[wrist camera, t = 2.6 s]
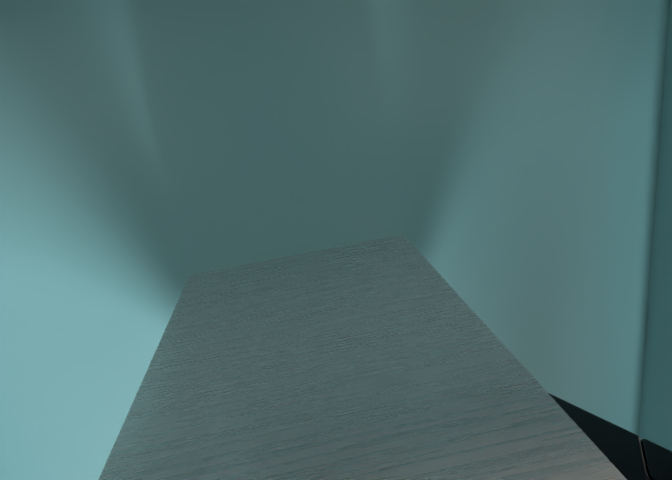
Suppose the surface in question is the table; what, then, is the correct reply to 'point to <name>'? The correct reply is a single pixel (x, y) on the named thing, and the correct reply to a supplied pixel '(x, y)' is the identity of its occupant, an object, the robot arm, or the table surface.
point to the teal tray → (329, 185)
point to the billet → (341, 381)
